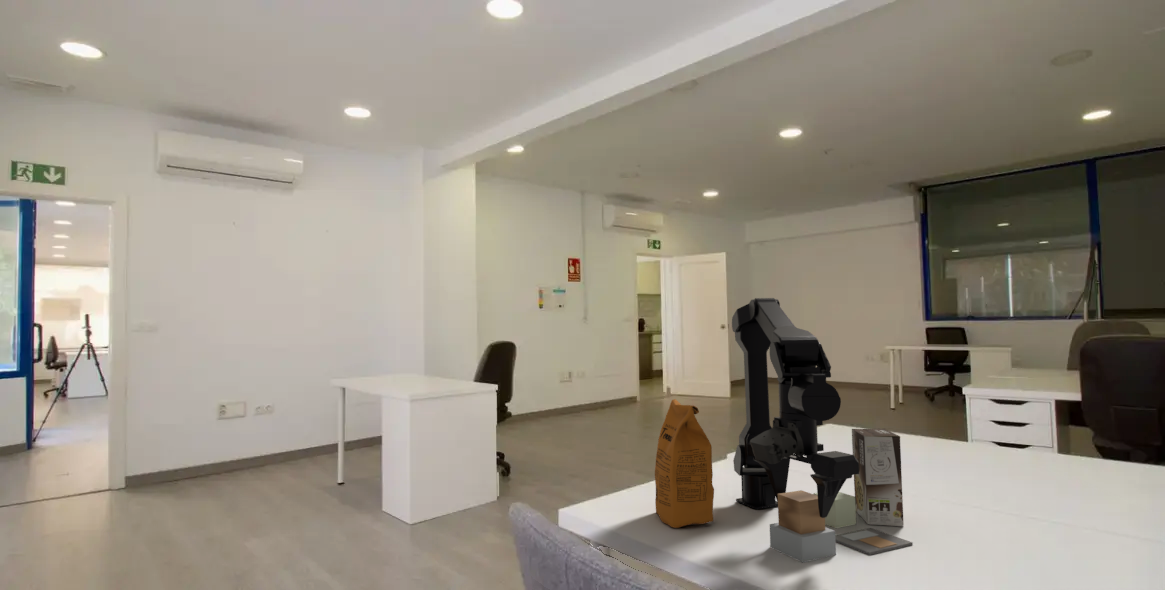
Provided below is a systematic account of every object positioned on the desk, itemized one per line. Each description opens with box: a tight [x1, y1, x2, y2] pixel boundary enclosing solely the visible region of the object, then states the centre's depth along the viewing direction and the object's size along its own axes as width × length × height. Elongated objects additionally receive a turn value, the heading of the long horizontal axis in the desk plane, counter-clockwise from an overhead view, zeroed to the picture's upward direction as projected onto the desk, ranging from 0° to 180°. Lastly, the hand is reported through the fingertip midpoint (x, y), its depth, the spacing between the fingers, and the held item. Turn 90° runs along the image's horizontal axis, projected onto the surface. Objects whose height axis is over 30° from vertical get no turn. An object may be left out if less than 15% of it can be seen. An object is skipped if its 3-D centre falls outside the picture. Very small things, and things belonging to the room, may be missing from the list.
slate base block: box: [769, 522, 837, 563], centre depth 94 cm, size 7×7×4 cm
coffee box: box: [851, 428, 904, 527], centre depth 110 cm, size 9×6×16 cm
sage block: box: [813, 491, 857, 529], centre depth 108 cm, size 5×5×5 cm
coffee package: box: [654, 398, 715, 529], centre depth 111 cm, size 10×12×22 cm
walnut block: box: [777, 489, 826, 534], centre depth 94 cm, size 5×5×5 cm
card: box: [835, 527, 914, 556], centre depth 97 cm, size 8×10×1 cm
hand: (801, 509), depth 94 cm, fingers open, 9 cm apart
